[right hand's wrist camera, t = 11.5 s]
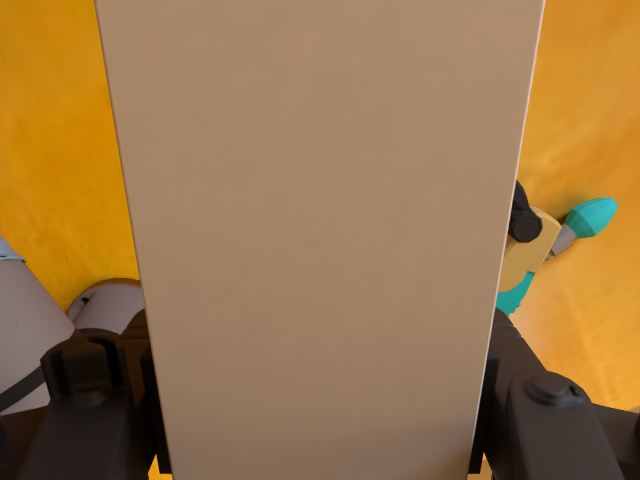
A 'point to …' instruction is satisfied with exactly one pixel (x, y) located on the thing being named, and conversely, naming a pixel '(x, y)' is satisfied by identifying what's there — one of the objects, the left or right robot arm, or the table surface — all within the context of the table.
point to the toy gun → (542, 241)
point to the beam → (319, 223)
